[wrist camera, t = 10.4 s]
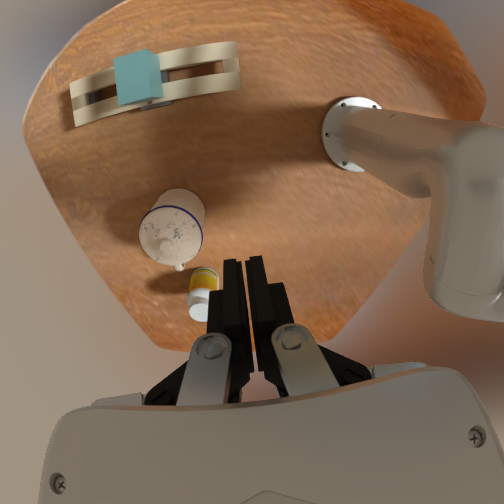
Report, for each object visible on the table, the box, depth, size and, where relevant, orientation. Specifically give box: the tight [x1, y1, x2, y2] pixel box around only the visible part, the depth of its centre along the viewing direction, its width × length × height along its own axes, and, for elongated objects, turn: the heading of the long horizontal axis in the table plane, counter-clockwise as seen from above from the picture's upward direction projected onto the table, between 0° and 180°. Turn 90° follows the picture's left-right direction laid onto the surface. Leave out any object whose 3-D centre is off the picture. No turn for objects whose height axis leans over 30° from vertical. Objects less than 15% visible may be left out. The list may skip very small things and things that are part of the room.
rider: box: [113, 49, 164, 106], centre depth 27 cm, size 4×6×8 cm, turn 5°
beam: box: [69, 41, 242, 127], centre depth 31 cm, size 24×8×5 cm, turn 95°
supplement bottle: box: [187, 267, 219, 322], centre depth 47 cm, size 5×5×10 cm
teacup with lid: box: [139, 188, 205, 271], centre depth 40 cm, size 12×9×12 cm
